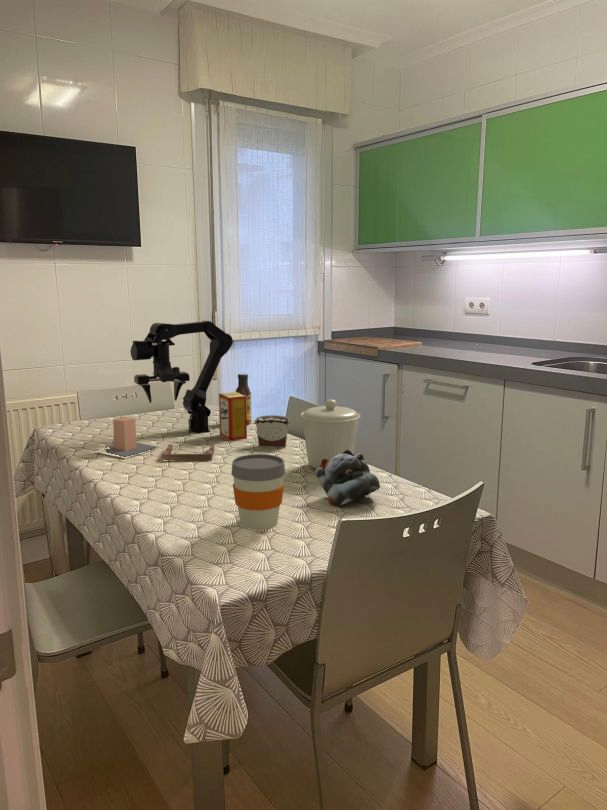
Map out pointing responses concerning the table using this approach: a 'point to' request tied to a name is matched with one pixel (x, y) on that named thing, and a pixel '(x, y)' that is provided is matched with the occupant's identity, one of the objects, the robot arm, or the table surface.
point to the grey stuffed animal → (346, 478)
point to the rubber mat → (130, 452)
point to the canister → (329, 431)
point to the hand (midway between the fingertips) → (163, 401)
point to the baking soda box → (233, 416)
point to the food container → (272, 431)
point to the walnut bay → (188, 455)
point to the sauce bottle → (245, 393)
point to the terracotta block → (124, 433)
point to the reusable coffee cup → (258, 489)
